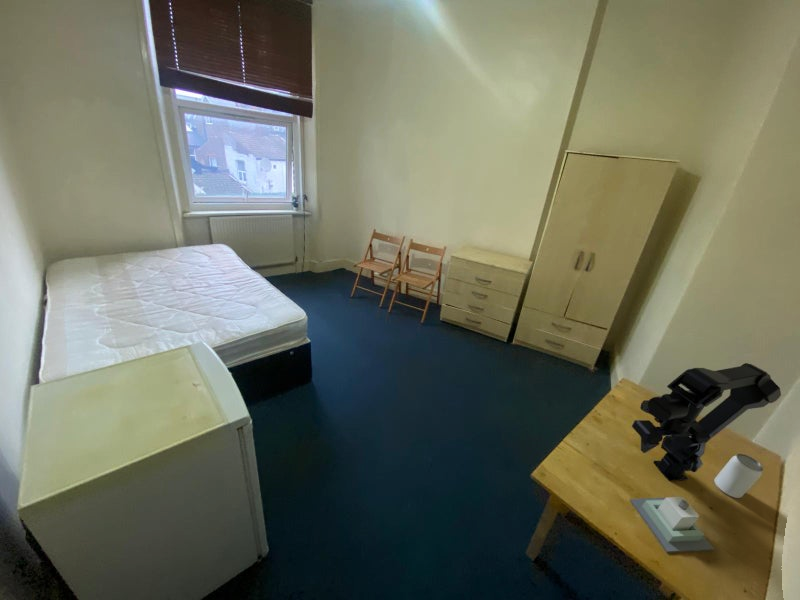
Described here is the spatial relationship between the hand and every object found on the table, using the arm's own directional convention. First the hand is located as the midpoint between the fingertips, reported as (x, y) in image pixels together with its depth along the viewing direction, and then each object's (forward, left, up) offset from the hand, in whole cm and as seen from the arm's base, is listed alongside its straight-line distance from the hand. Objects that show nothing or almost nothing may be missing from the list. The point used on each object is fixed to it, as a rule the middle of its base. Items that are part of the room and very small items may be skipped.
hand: (657, 451), depth 93 cm
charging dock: (+2, +13, -12) cm, 18 cm away
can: (-26, +4, -12) cm, 29 cm away
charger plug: (+2, +13, -11) cm, 17 cm away
